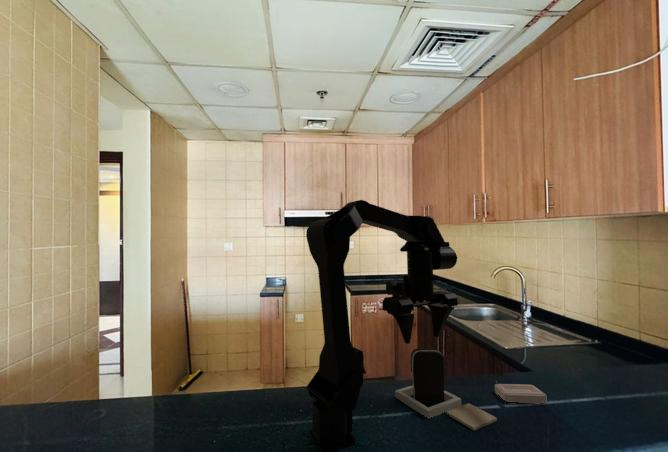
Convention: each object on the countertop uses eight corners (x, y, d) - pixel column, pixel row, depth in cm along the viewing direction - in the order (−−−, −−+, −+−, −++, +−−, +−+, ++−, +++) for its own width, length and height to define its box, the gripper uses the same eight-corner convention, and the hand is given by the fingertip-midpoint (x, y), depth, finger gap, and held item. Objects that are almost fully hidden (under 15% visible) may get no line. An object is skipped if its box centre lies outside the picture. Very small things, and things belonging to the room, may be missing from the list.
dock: (428, 418, 59) (428, 411, 60) (395, 397, 68) (395, 390, 68) (461, 406, 64) (461, 399, 64) (426, 387, 73) (426, 381, 73)
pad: (474, 430, 55) (474, 428, 56) (446, 414, 61) (446, 411, 61) (497, 420, 59) (496, 417, 59) (468, 405, 64) (468, 403, 64)
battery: (439, 397, 68) (438, 346, 69) (446, 406, 64) (444, 351, 65) (409, 397, 68) (408, 346, 69) (414, 406, 64) (413, 352, 65)
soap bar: (494, 393, 71) (493, 382, 71) (533, 394, 70) (532, 383, 71) (505, 405, 66) (505, 393, 66) (548, 406, 65) (547, 394, 65)
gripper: (422, 267, 80) (424, 326, 79) (366, 270, 71) (368, 337, 70) (457, 270, 71) (460, 337, 70) (398, 274, 61) (400, 351, 60)
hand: (422, 340), depth 68 cm, fingers open, 9 cm apart
